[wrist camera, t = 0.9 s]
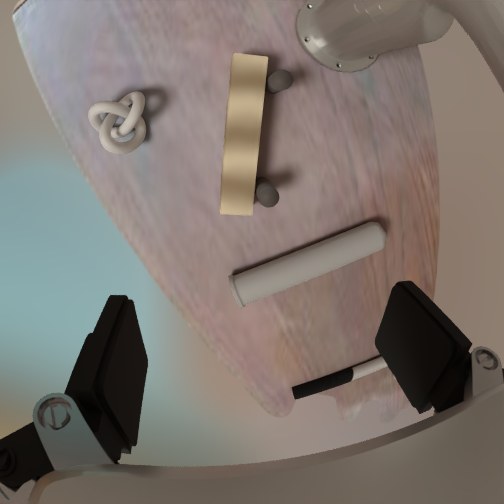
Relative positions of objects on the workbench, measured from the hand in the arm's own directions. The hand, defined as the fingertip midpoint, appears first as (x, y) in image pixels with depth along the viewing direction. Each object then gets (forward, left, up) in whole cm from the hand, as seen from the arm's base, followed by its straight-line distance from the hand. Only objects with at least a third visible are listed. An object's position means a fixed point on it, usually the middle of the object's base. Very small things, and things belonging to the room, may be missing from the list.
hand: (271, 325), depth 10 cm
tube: (+13, +13, -31) cm, 36 cm away
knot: (-6, -14, -31) cm, 35 cm away
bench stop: (-5, +2, -31) cm, 31 cm away
